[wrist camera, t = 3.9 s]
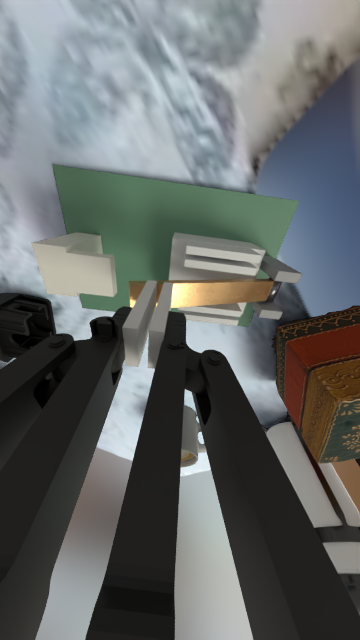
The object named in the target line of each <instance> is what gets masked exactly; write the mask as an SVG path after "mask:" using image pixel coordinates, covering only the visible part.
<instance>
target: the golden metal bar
mask: <svg viewBox="0 0 360 640" xmlns="http://www.w3.org/2000/svg"><path fill="white" fill-rule="evenodd" d="M155 281H157V293H156V306H157V303H158V300H159V297H160V293H161V290H162V287H163V284H164V282H168V283H173V291H172V301H171V308H176V307H190V306H203V305H217V304H230V303H244V302H258V301H265V302H270V303H272V302H273V301H274V298H275V296H276V294H277V292H278V290H279V288H280V285H281V283H282V282H281V281H274V280H273V279H272V278H271V277H269V279H220V280H155ZM146 282H147V281H128V287H129V307H133V306H134V304H135V303H136V301H137V299H138V297H139V295H140V293H141V291H142V290H143V288H144V286H145V284H146Z"/></svg>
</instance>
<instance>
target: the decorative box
mask: <svg viewBox="0 0 360 640" xmlns="http://www.w3.org/2000/svg"><path fill="white" fill-rule="evenodd" d="M272 340H273V341H274V343H273V344H272V347H273V348H274V353H276V358H277V360H276V362H277V365H276V366H277V369H276V376H277V379H276V385H277V390H278V393H279V395H280V397H281V399H282V400H283V402H284V404H285V406H286V408H287V410H288V412H289V413H290V415H291V417H292V419H293V421H294V422H295V424H296V426H297V428H298V430H299V431H300V433H301V435H302V437H303V439H304V441H305V443H306V445H307V447H308V448H309V450H310V452H311V454H312V456H313V457H314V459H315V461H316V462H317V463H331V462H339V461H346V460H351V459H360V306H352V307H351V308H349V309H346V310H343V311H336V312H329V313H327V314H326V315H321V316H317V317H310V318H307V319H303V320H293V321H291V322H289V323H287V324H281V325H280V326H278V327H277V328H276V335H275V336H274V338H273V339H272Z"/></svg>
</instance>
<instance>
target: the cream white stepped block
mask: <svg viewBox="0 0 360 640" xmlns="http://www.w3.org/2000/svg"><path fill="white" fill-rule="evenodd" d="M31 244H32V247H33V250H34V253H35V257H36V260H37V263H38V266H39V269H40V272H41V275H42V279H43V282H44V285H45V288H46V291H47V293H48V294H57V295H65V296H74V297H76V296H78V295H79V294H80V293H84V294H92V295H101V296H109V297H114V296H115V295H116V293H117V283H116V271H115V258H114V255H107V254H103V250H102V242H101V235H94V234H86V233H79V232H76V233H72V234H67V235H63V236H59V237H54V238H50V239H45V240H41V241H37V242H32V243H31Z"/></svg>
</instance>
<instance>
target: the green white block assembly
mask: <svg viewBox="0 0 360 640" xmlns="http://www.w3.org/2000/svg"><path fill="white" fill-rule="evenodd" d="M53 170H54V175H55V179H56V184H57V189H58V194H59V198H60V203H61V208H62V213H63V217H64V222H65V227H66V232H67V234H72V233H76V232H79V233H86V234H94V235H101V242H102V250H103V254H107V255H114V258H115V271H116V283H117V293H116V295H115V296H114V297H109V296H101V295H92V294H84V293H80V298H81V303H82V308H88V309H97V310H105V311H114V312H116V311H117V310H118V309H119V308H121V307H123V306H126V307H129V287H128V281H147V280H152V281H155V280H220V279H268V276H270V277H271V278H272V279H273V280H274V281H281V282H289V283H298V281H299V280H300V277H301V276H302V274H301V273H300V272H298V271H296V270H294V269H293V268H291V267H289V266H287V265H286V264H284V263H282V262H280V261H279V260H277V259H276V257H277V254H278V252H279V249H280V247H281V244H282V242H283V239H284V237H285V235H286V232H287V229H288V227H289V225H290V222H291V220H292V217H293V215H294V212H295V210H296V207H297V205H298V202H299V201H295V200H288V199H282V198H275V197H268V196H261V195H255V194H248V193H241V192H234V191H228V190H221V189H214V188H207V187H201V186H194V185H187V184H180V183H173V182H167V181H160V180H153V179H146V178H140V177H133V176H126V175H119V174H113V173H106V172H99V171H92V170H86V169H79V168H72V167H65V166H59V165H53ZM171 311H172V312H180V313H184V315H185V316H186V320H191V321H200V322H208V323H217V324H226V325H234V326H245V327H248V326H249V323H250V321H251V318H252V316H253V314H254V311H255V312H256V314H257V315H258V317H261V318H270V319H278V320H279V319H280V317H281V315H282V313H283V312H282V311H281V310H280V309H279V307H278V306H277V305H276V304H275V303H274V302H272V303H270V302H265V301H258V302H244V303H230V304H217V305H203V306H190V307H176V308H171Z"/></svg>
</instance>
